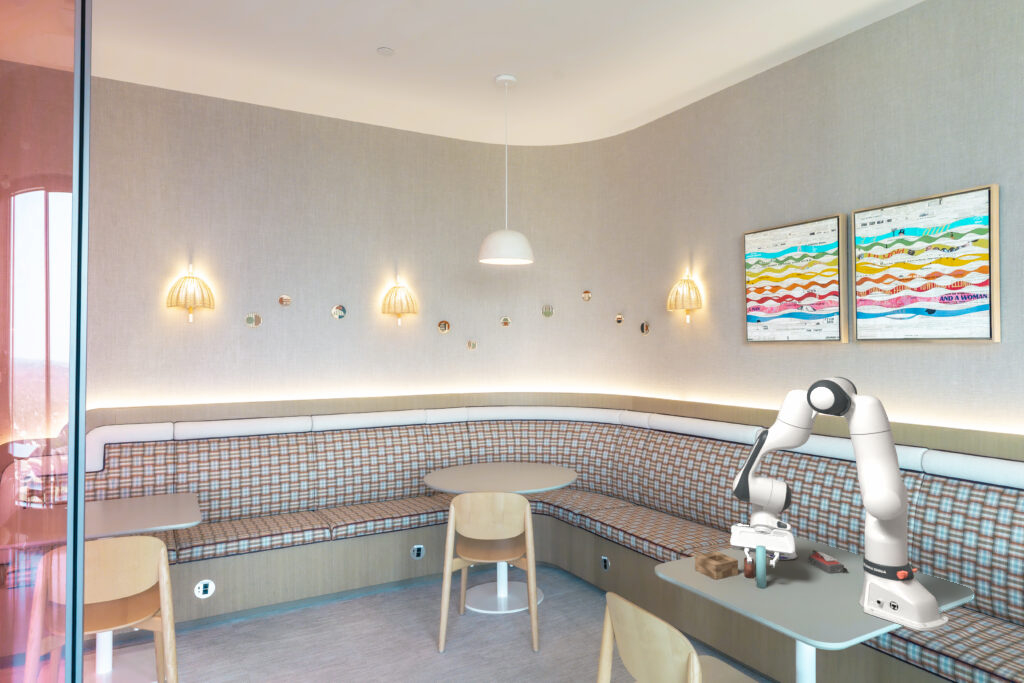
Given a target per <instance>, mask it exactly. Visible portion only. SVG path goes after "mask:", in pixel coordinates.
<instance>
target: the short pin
mask: <svg viewBox="0 0 1024 683" xmlns="http://www.w3.org/2000/svg"><path fill="white" fill-rule="evenodd" d="M752 559H753V561H752V564H747V557H744V558H743V567H744V569H743V570H744V573H743V574H744V577H745V578H746V579H754V577H755V574H754V573H755V565H754V564H755V563H754V562H755V561H754V558H752Z"/></svg>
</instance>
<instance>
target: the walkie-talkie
mask: <svg viewBox="0 0 1024 683" xmlns="http://www.w3.org/2000/svg"><path fill="white" fill-rule="evenodd" d="M812 553H813V554H809V555H808V558H807V559H808V564H810V565H812V566H814V567H816V568H817V569H818V570H821V571H823V572H824V573H826V574H830V575H832V574H842V573H843V574H844V573H847V572H848V569H847V568H846V567H845V564H843V563H840V562H838V561H837V558H835V557H832V556H831V555H828V554H826V553H825V552H823V551H817V550H816V549H813V550H812Z"/></svg>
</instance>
